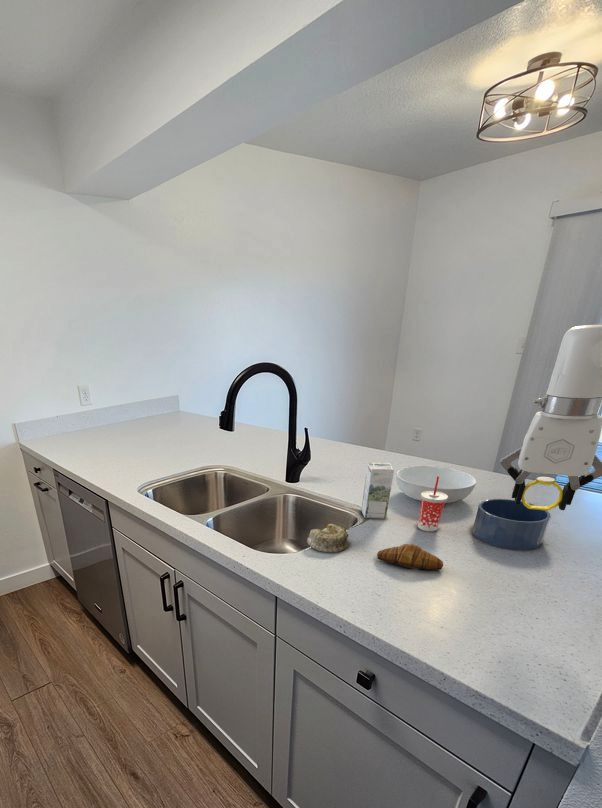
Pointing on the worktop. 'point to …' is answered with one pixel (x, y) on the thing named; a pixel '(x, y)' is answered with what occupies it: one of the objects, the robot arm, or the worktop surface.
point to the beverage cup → (431, 509)
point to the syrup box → (377, 490)
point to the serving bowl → (425, 478)
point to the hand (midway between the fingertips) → (538, 503)
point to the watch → (545, 482)
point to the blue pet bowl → (510, 524)
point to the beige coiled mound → (328, 539)
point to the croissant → (410, 557)
